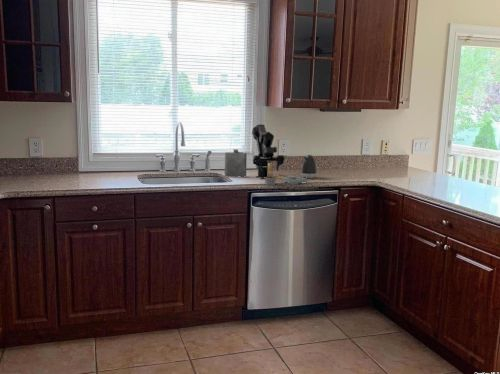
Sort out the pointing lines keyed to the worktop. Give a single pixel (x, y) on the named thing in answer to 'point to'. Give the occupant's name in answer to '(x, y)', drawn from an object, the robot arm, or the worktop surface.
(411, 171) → the worktop surface
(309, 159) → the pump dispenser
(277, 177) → the slot board
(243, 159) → the flask
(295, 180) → the tray
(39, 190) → the worktop surface
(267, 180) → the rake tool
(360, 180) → the worktop surface
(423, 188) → the worktop surface
